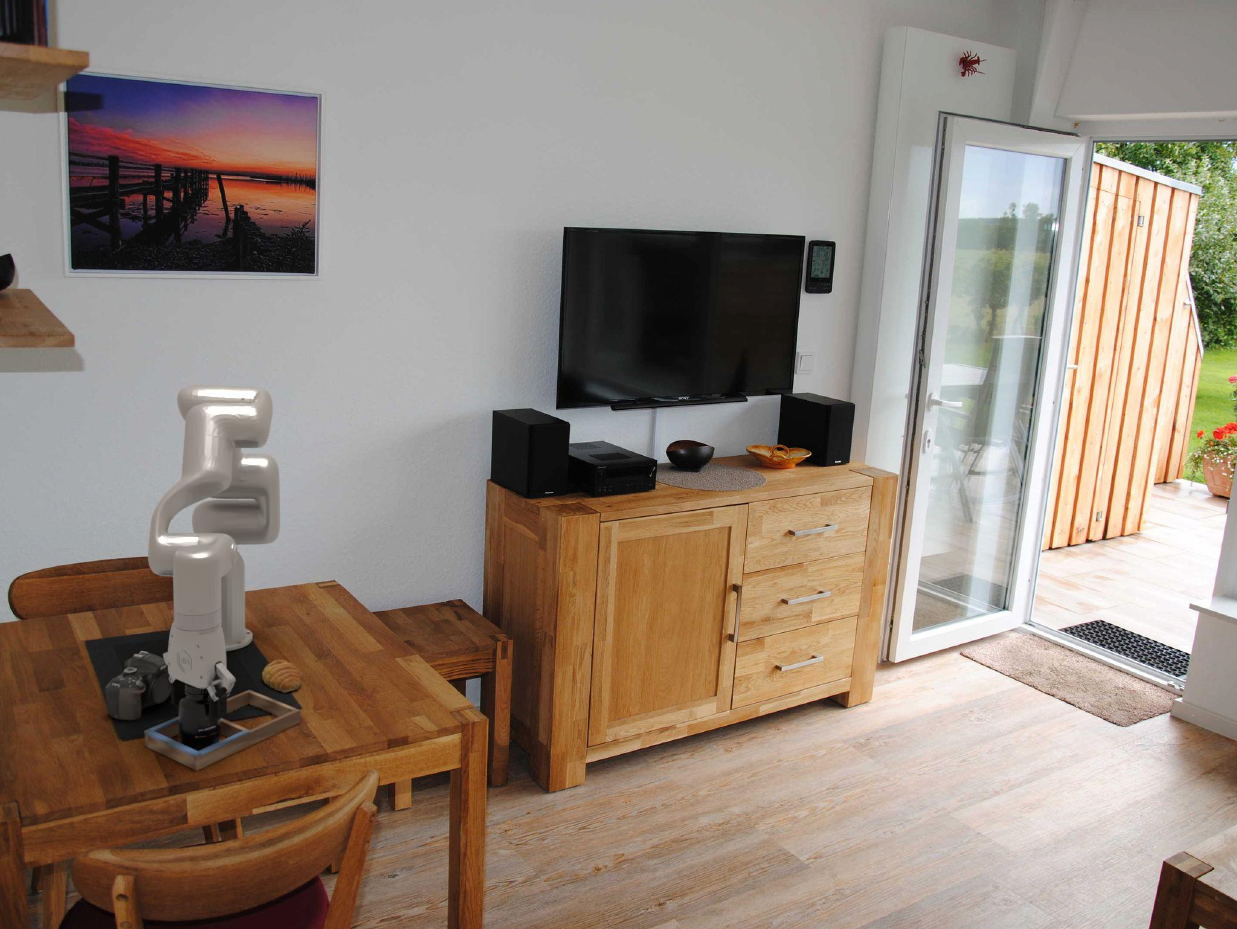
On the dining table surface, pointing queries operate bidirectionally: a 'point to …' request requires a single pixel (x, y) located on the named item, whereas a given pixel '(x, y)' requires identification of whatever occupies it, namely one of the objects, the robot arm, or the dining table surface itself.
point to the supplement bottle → (197, 719)
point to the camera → (138, 686)
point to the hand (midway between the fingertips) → (199, 710)
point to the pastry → (281, 676)
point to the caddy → (223, 732)
